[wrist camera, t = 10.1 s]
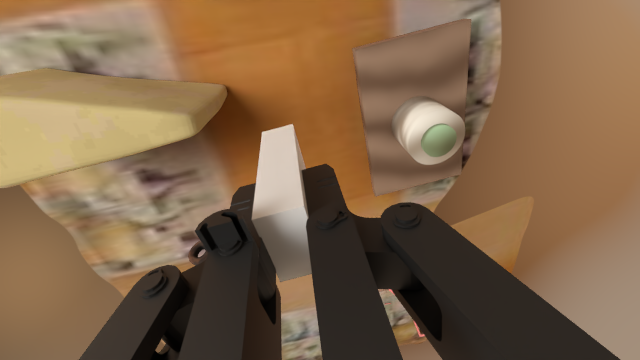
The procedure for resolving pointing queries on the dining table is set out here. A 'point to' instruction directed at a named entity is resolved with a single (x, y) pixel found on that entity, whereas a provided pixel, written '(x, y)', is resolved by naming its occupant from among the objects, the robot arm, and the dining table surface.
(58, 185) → the dining table surface
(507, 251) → the dining table surface
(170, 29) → the dining table surface
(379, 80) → the panel with push button
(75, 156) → the cheese
